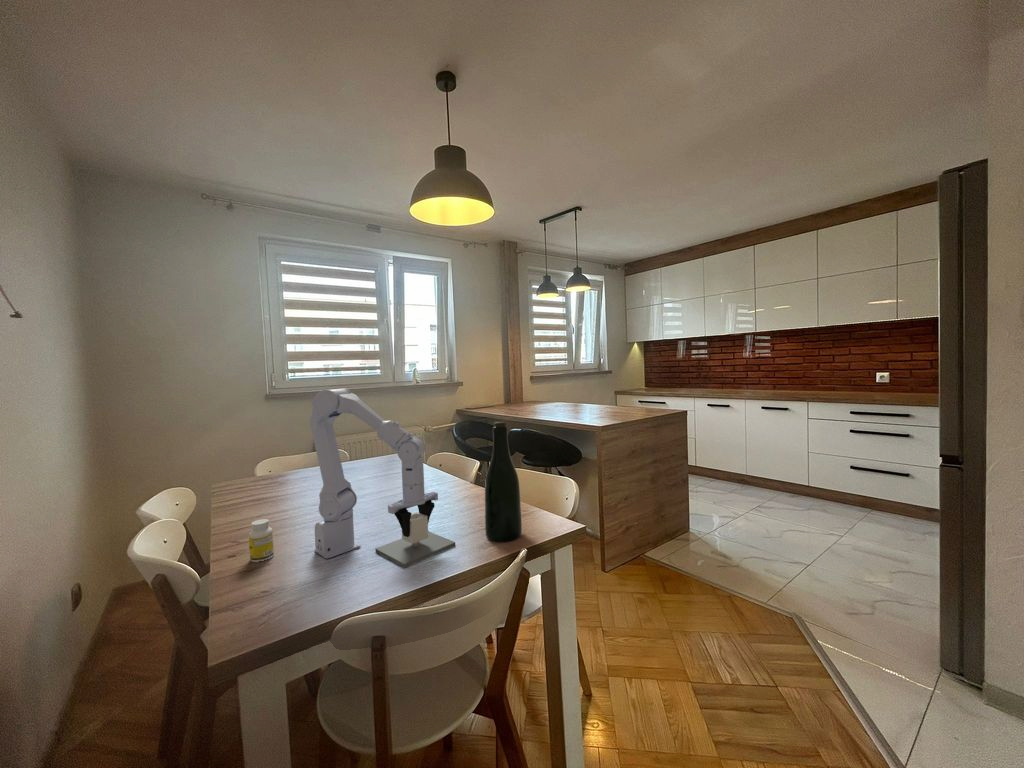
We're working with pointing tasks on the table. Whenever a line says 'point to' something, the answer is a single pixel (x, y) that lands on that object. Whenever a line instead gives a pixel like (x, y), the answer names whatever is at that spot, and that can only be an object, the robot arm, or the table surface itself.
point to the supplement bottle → (261, 541)
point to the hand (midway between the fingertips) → (415, 532)
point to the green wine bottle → (502, 491)
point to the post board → (414, 549)
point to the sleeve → (417, 528)
